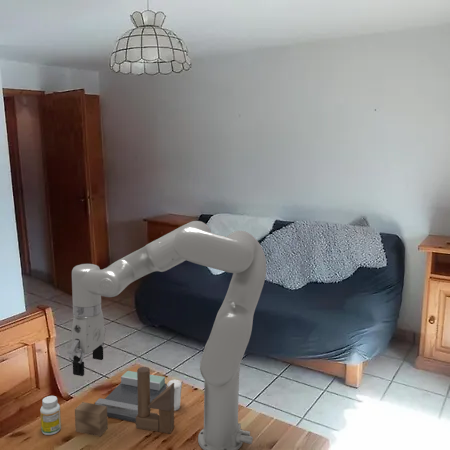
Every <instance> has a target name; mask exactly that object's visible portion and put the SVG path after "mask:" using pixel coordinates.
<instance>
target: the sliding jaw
mask: <svg viewBox="0 0 450 450" xmlns="http://www.w3.org/2000/svg"><path fill="white" fill-rule="evenodd" d="M120 383H121V384H125V385H130V386H136V387H137V371H131V370H127V371H126V372H124V373H123V374H122V375H121V376H120ZM164 384H166V377H165V376H162V375H161V376H160V375H155V374H150V389H153V390H158V391H159V390H160V389H161V388H162V387H163V386H164Z"/></svg>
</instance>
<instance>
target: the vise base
mask: <svg viewBox="0 0 450 450" xmlns="http://www.w3.org/2000/svg"><path fill="white" fill-rule="evenodd" d="M167 384H168V383H165V384H164V386H163V387H162V388H161V389H160V390H159V391H158V390H153V389H150V403H151V401H152V400H153V399H155V398H156V397H157V396H158V395H159V394H161V393H162V392H163V391H164V390H165V389H167V388H168V387H167ZM94 404H96V405H101V406H106V407H107V418H112V419H117V420H122V421H125V422H132V423H136V416H137V415H138V388H137V387H136V386H130V385H125V384H121V382H120V383H119V384H118V385H117V386H116V387H115V388H114V389H113V390H112V391H111V392H110V393H109V394H108V395H107V396H106V397H105V398H100V397H99V398H98V399H97V400H96V401H95V403H94Z"/></svg>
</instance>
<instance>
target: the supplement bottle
mask: <svg viewBox="0 0 450 450" xmlns="http://www.w3.org/2000/svg"><path fill="white" fill-rule="evenodd" d="M41 401H42V402H41V403H42V405H41V407H40V409H39V411H40V412H39V413H40V426H41V427H40V428H41V432H42V434H44V435H45V436H52V435H55V434H57V433H58V432H60V431H61V429H62V418H61V406H60V405H61V404H60V403H59V402H58V401H59V400H58V397H57V396H55V395H48V396H46V397H44V398H42V400H41Z"/></svg>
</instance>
